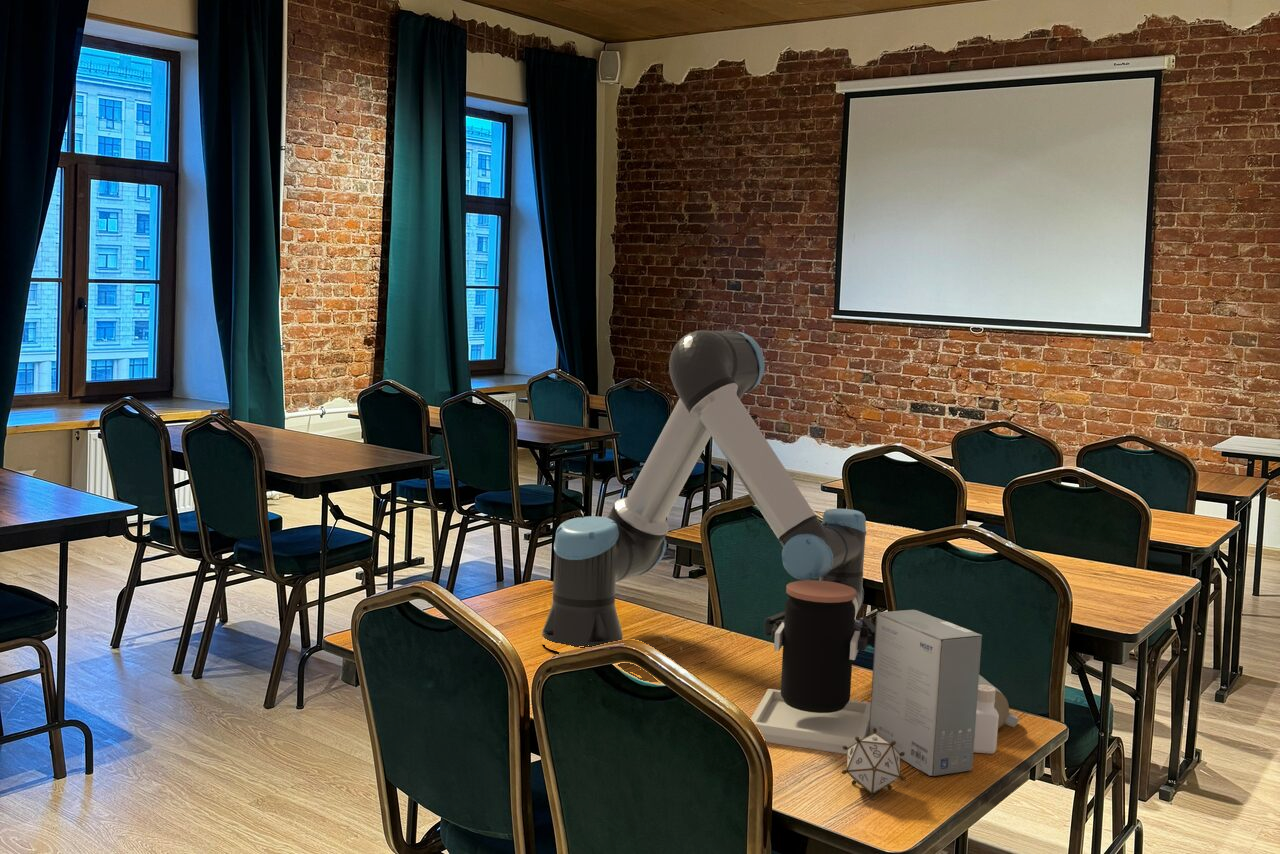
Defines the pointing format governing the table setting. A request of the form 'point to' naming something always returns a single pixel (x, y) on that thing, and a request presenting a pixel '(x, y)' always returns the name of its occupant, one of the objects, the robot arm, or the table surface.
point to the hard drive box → (926, 690)
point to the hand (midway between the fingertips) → (814, 646)
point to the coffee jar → (817, 645)
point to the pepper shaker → (986, 721)
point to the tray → (811, 724)
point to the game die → (873, 763)
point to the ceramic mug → (1001, 706)
